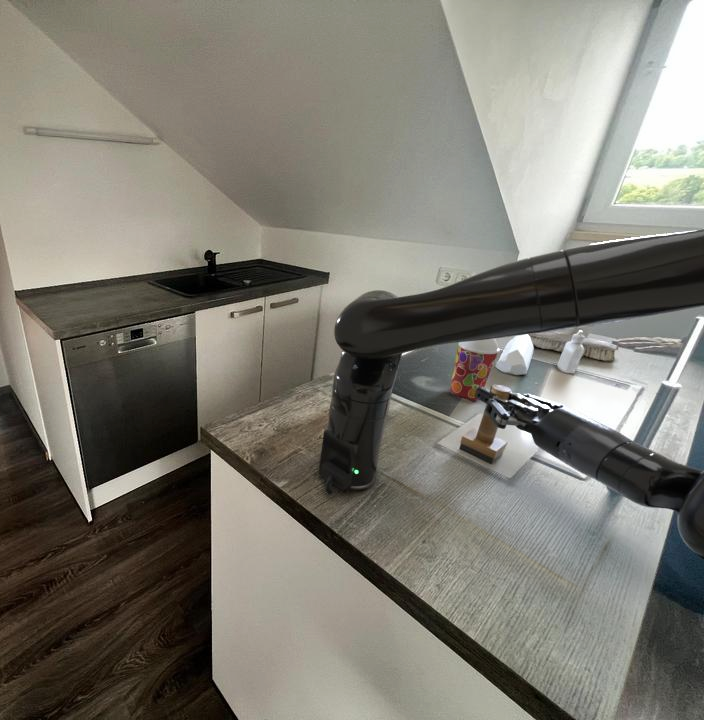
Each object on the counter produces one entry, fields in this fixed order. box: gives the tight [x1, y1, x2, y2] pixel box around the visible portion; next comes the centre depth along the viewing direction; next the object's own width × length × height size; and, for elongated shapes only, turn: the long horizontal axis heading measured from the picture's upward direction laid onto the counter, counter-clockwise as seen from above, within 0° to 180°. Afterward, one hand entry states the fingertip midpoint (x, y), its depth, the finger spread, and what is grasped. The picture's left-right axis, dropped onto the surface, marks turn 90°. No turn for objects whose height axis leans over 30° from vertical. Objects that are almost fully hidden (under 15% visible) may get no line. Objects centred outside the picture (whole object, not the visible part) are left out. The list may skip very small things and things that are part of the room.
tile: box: [436, 412, 541, 480], centre depth 79 cm, size 20×13×1 cm, turn 126°
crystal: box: [494, 334, 535, 376], centre depth 117 cm, size 7×7×24 cm
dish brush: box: [459, 384, 512, 464], centre depth 72 cm, size 5×6×14 cm
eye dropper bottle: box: [556, 331, 584, 374], centre depth 110 cm, size 4×6×12 cm
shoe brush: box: [528, 332, 619, 362], centre depth 125 cm, size 24×8×5 cm, turn 52°
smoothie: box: [449, 338, 500, 402], centre depth 94 cm, size 8×8×20 cm
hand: (484, 390), depth 73 cm, fingers closed on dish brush, 3 cm apart
